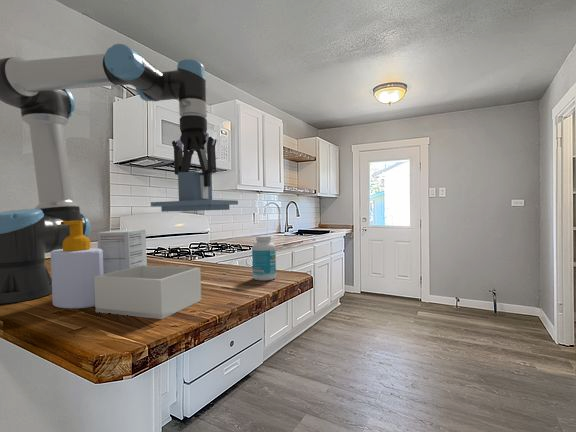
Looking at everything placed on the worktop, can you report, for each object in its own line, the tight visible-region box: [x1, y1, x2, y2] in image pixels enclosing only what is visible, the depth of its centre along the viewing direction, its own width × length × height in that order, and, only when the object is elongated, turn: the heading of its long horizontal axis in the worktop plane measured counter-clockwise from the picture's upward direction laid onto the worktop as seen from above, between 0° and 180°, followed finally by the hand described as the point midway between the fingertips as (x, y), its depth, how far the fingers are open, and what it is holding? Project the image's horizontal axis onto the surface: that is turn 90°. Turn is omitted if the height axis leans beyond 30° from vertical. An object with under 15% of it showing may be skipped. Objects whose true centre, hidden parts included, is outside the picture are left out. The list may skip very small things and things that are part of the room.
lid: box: [150, 171, 239, 213], centre depth 92 cm, size 19×15×11 cm
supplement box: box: [96, 229, 148, 274], centre depth 93 cm, size 10×9×17 cm
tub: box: [94, 265, 202, 320], centre depth 75 cm, size 18×14×8 cm
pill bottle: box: [251, 235, 277, 281], centre depth 102 cm, size 8×7×14 cm
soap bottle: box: [50, 221, 104, 310], centre depth 78 cm, size 13×8×20 cm, turn 75°
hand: (196, 198), depth 92 cm, fingers closed on lid, 5 cm apart
